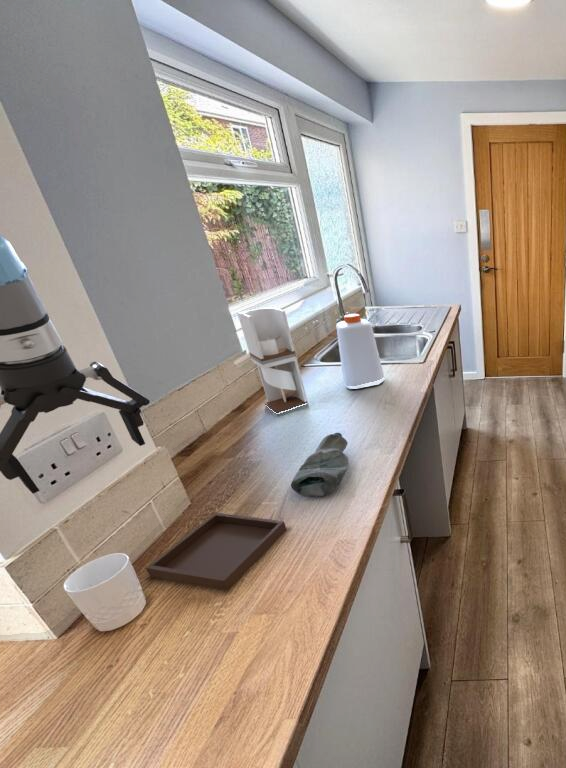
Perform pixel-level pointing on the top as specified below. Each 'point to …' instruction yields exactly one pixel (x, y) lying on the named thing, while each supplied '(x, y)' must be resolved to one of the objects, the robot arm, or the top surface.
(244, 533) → the serving tray
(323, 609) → the top surface
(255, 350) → the white tiered shelf stand
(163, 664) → the top surface
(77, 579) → the white cup
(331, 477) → the grey hollow crumpled part
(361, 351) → the plastic bottle
